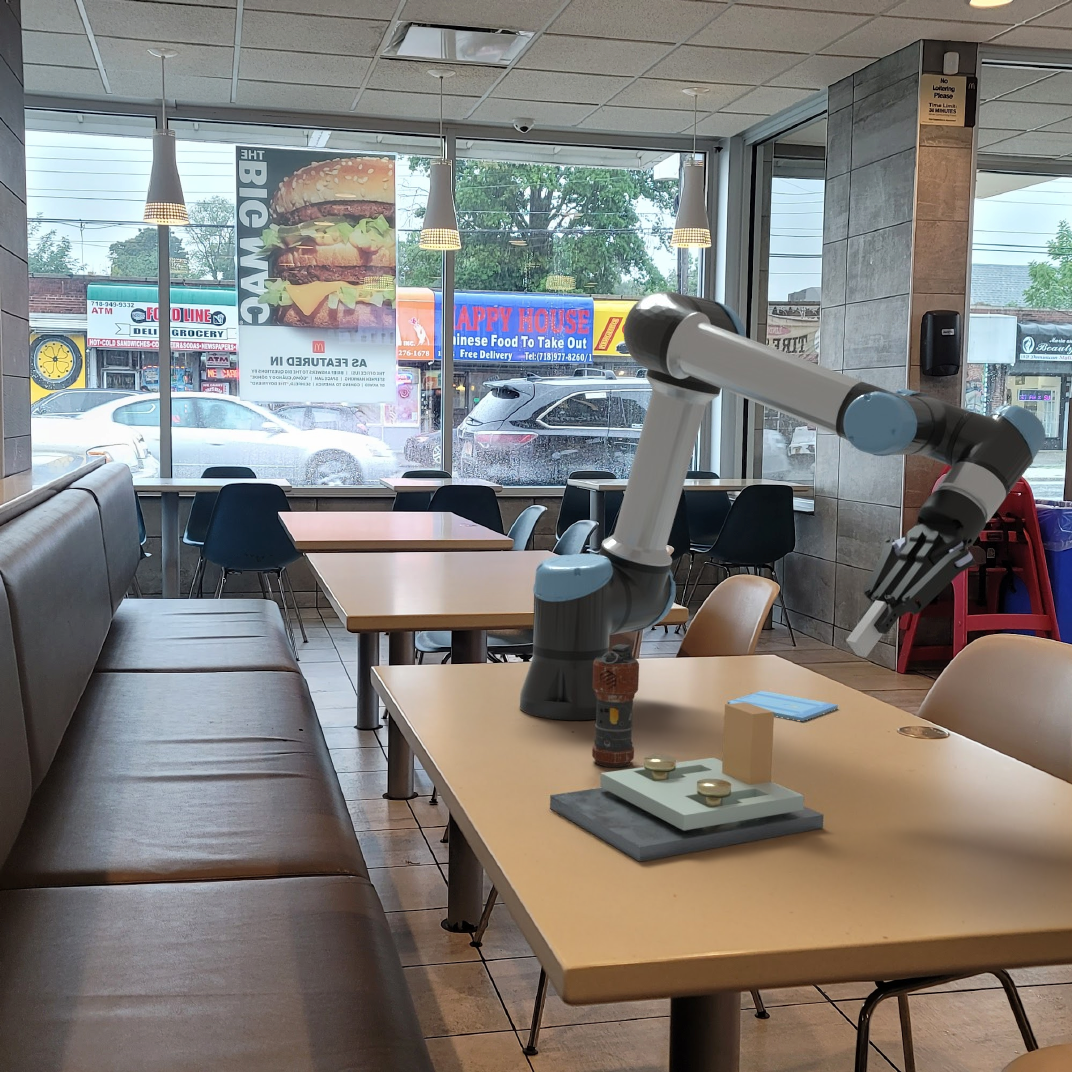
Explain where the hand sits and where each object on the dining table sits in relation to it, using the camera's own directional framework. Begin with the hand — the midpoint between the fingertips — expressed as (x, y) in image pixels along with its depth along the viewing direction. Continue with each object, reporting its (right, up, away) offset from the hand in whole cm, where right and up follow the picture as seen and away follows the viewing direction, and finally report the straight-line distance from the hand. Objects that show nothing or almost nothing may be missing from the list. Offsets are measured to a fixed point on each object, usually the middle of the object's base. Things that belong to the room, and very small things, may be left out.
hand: (856, 648), depth 137 cm
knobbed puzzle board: (-20, -16, -9) cm, 27 cm away
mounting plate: (-22, -18, -9) cm, 30 cm away
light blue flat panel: (+1, -14, +45) cm, 47 cm away
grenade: (-28, -16, +12) cm, 34 cm away
